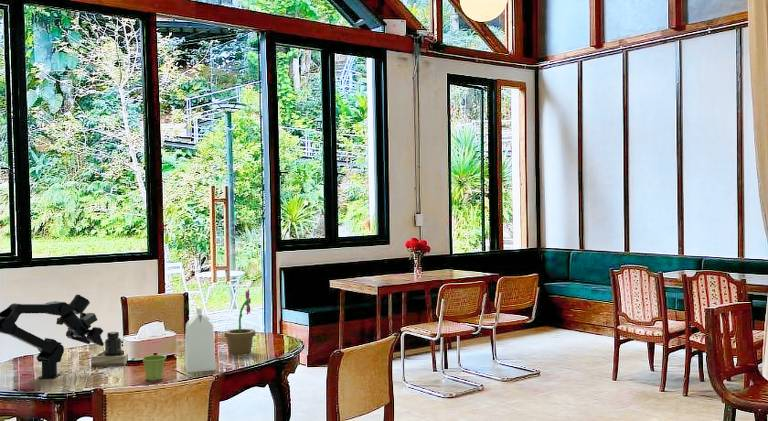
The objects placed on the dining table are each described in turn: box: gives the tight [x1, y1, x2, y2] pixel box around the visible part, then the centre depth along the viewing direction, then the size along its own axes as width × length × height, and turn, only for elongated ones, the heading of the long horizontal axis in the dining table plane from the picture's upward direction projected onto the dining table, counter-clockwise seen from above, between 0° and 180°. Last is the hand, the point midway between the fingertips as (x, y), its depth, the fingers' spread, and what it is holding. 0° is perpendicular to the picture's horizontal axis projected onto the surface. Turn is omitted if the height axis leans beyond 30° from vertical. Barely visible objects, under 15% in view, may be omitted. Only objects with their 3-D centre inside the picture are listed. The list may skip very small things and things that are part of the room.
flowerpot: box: [224, 289, 256, 356], centre depth 340 cm, size 14×14×30 cm
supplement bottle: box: [104, 331, 122, 356], centre depth 324 cm, size 7×7×12 cm
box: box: [90, 349, 128, 367], centre depth 324 cm, size 14×14×4 cm
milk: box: [184, 306, 216, 373], centre depth 310 cm, size 12×12×26 cm
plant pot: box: [141, 354, 167, 382], centre depth 292 cm, size 9×9×9 cm
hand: (96, 344), depth 317 cm, fingers open, 9 cm apart
